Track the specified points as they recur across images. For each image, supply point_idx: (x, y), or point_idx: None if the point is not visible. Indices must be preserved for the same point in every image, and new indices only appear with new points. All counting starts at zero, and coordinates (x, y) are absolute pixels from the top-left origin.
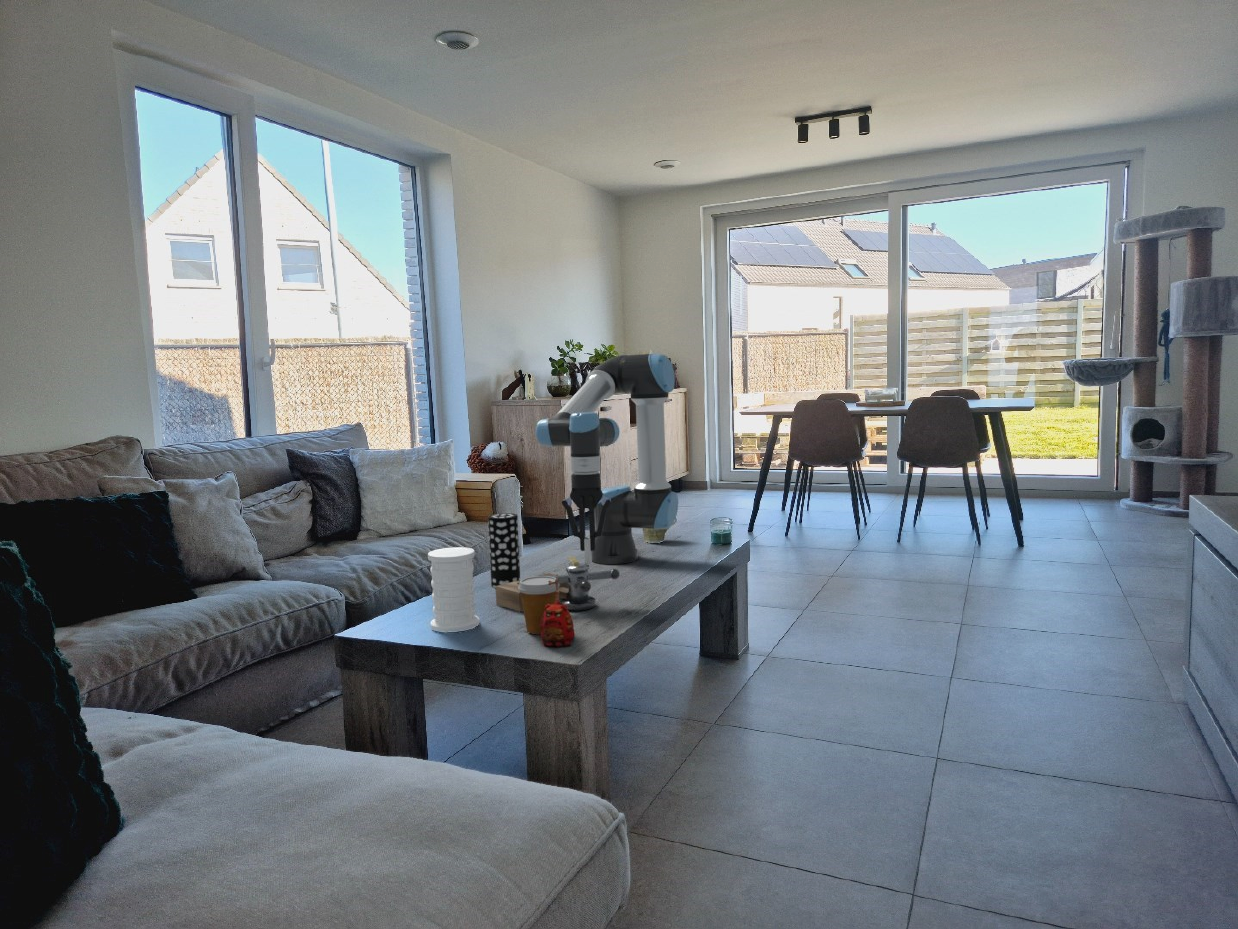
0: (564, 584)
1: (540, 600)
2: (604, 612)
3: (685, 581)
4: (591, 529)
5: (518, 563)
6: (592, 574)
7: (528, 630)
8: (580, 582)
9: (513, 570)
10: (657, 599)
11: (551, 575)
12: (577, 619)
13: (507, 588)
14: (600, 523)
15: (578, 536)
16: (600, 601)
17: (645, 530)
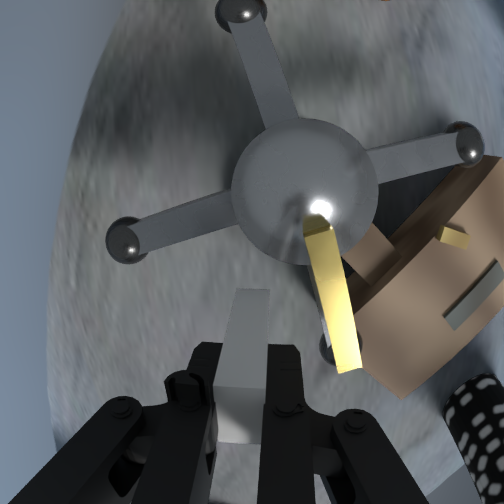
0: (357, 303)
1: None
2: (197, 123)
3: (57, 395)
4: (177, 455)
5: (468, 437)
6: (222, 193)
7: None
8: (269, 37)
9: (478, 413)
10: (67, 262)
11: (398, 376)
12: (281, 50)
13: None
14: (66, 479)
15: (320, 419)
16: (224, 253)
17: None
